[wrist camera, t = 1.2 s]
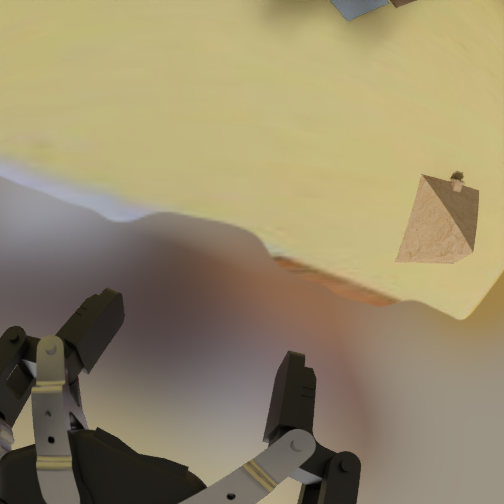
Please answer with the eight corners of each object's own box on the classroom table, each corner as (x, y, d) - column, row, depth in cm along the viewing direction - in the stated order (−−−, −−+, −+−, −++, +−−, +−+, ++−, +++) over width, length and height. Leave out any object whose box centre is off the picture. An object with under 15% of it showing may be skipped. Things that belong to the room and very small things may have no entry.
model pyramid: (479, 185, 38) (515, 207, 29) (452, 263, 46) (479, 293, 38) (419, 167, 36) (460, 189, 27) (391, 261, 45) (418, 297, 36)
